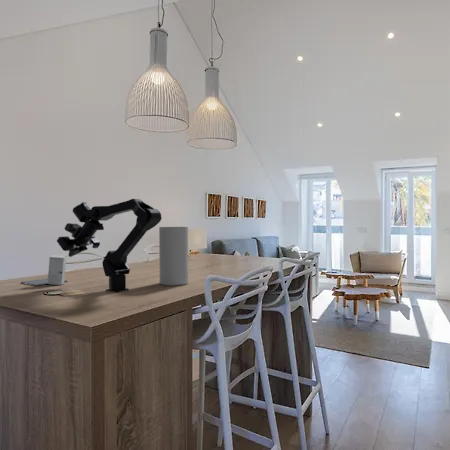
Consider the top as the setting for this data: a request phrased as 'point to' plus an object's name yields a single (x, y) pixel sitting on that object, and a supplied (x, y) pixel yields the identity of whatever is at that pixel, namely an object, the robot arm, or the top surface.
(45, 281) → the felt mat
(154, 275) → the top surface
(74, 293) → the cork coaster
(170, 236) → the cylinder vase
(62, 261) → the skincare box
